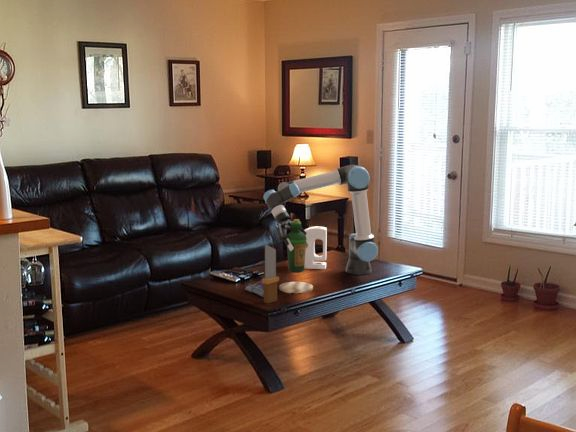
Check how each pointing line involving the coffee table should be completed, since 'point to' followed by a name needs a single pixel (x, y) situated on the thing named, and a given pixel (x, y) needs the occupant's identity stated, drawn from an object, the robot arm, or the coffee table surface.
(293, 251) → the bottle
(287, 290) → the serving board
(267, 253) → the knife
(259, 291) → the toy gun
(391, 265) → the coffee table surface
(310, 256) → the bracket
